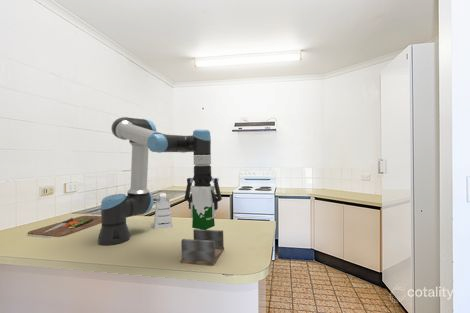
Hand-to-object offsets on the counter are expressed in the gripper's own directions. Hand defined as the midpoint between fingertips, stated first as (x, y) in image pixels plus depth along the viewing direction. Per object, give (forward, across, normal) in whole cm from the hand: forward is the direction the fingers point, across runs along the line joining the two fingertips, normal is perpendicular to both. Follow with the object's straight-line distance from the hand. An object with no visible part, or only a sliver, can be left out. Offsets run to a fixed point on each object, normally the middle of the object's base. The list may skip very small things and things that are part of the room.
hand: (203, 216), depth 106 cm
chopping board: (+17, -98, +31) cm, 104 cm away
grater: (+17, -40, +39) cm, 59 cm away
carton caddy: (+17, 0, 0) cm, 17 cm away
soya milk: (+5, 0, 0) cm, 5 cm away
